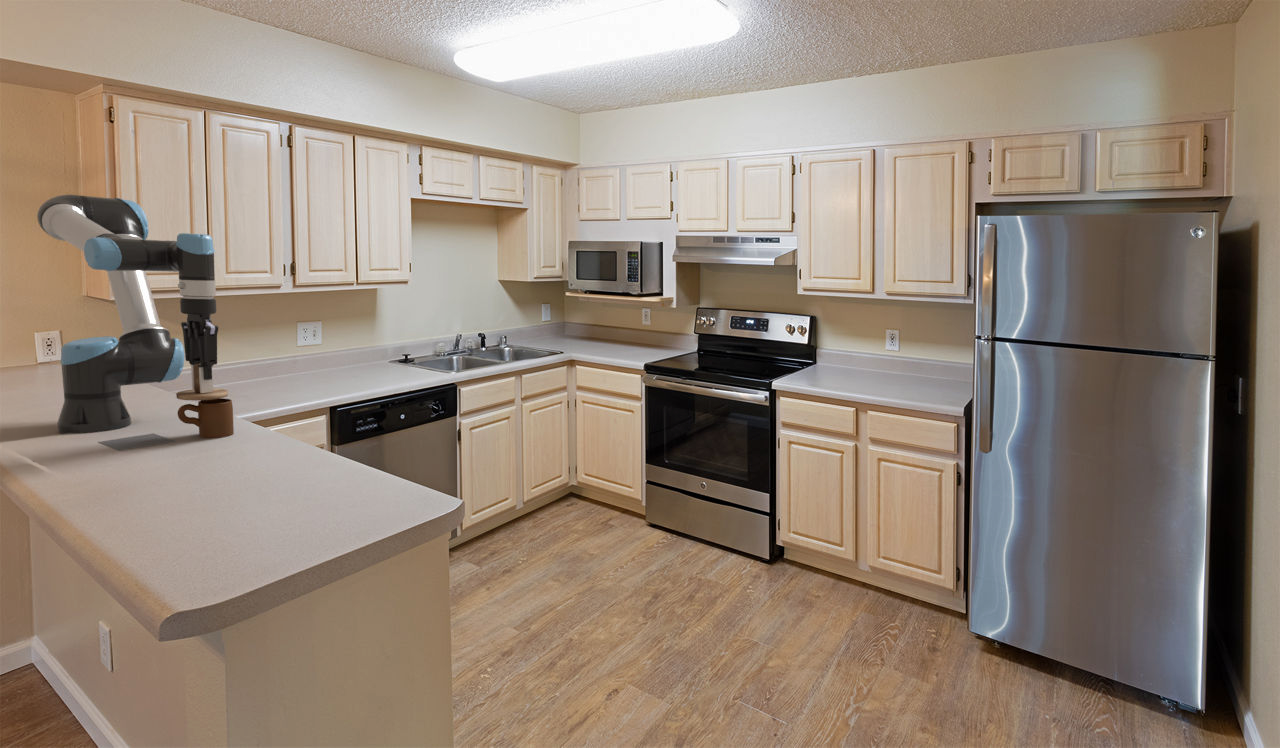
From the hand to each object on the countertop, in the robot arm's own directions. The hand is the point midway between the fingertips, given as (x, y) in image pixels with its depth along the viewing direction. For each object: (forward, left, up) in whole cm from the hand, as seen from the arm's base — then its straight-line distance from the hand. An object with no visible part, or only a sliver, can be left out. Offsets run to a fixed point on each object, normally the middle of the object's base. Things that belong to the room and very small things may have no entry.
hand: (202, 391), depth 177 cm
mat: (-5, -13, -12) cm, 18 cm away
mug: (0, 0, -12) cm, 12 cm away
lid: (0, 0, -1) cm, 1 cm away
